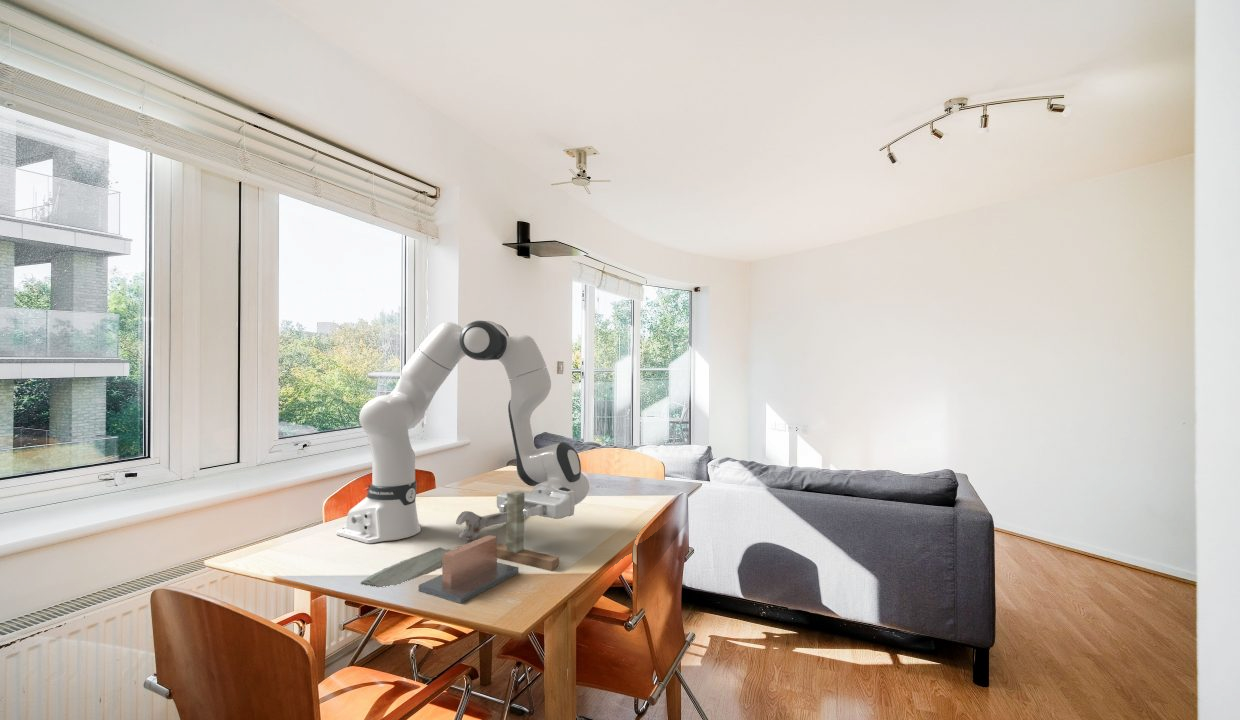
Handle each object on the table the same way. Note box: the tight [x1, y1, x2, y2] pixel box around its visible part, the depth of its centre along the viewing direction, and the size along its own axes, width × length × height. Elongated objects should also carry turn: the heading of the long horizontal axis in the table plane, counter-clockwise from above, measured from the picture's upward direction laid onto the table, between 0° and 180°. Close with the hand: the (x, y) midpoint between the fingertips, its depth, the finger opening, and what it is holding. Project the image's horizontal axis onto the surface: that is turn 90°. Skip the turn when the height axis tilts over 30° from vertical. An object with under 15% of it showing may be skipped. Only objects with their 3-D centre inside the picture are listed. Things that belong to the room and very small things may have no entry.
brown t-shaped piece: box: [497, 490, 560, 572], centre depth 132 cm, size 24×3×16 cm, turn 61°
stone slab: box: [360, 547, 452, 588], centre depth 125 cm, size 22×3×10 cm
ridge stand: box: [418, 534, 520, 604], centre depth 118 cm, size 12×18×8 cm, turn 151°
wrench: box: [455, 510, 507, 541], centre depth 155 cm, size 8×2×30 cm
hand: (513, 511), depth 131 cm, fingers open, 6 cm apart
